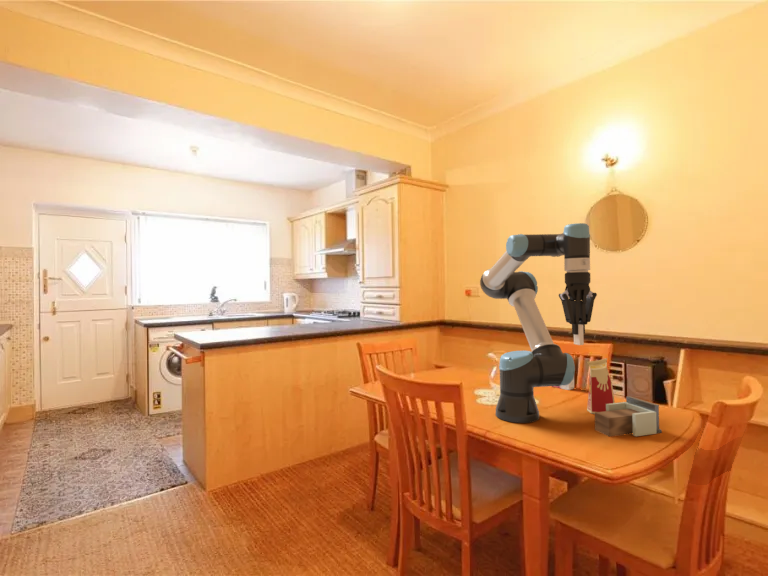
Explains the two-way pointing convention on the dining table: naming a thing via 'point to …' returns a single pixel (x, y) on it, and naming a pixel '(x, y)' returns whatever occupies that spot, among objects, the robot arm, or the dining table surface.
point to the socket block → (638, 418)
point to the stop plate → (646, 407)
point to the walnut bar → (614, 422)
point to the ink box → (567, 386)
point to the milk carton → (599, 387)
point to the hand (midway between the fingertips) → (578, 344)
